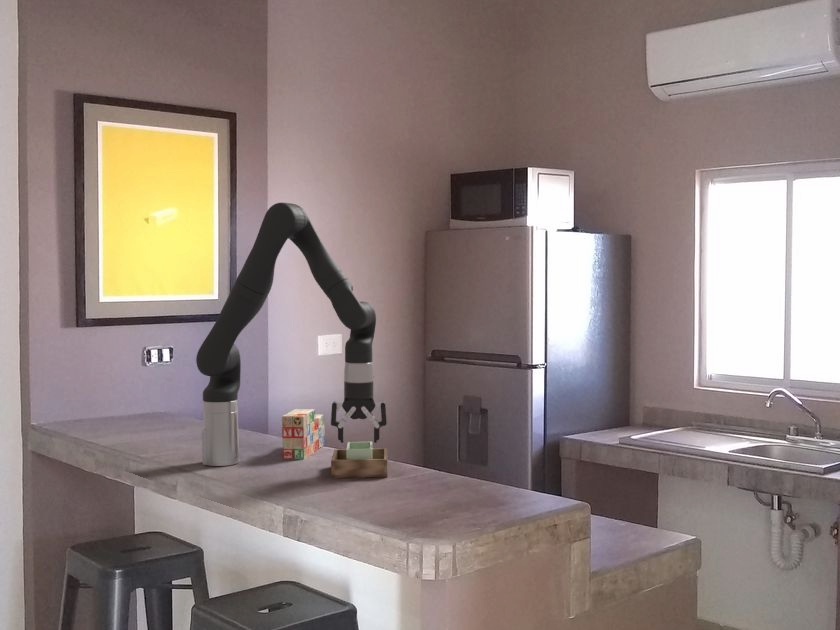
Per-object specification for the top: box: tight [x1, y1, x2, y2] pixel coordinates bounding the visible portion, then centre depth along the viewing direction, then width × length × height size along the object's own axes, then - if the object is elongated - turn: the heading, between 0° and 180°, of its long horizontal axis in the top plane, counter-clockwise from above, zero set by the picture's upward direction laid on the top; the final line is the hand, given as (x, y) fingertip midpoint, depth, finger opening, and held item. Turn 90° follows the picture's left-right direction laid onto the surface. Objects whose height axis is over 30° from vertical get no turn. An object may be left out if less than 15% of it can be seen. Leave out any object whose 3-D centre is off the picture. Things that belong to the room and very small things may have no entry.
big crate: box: [330, 447, 389, 479], centre depth 245 cm, size 14×15×4 cm
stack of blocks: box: [281, 408, 326, 460], centre depth 272 cm, size 21×6×12 cm, turn 170°
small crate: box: [345, 441, 373, 460], centre depth 245 cm, size 6×10×6 cm, turn 2°
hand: (358, 442), depth 245 cm, fingers open, 8 cm apart
